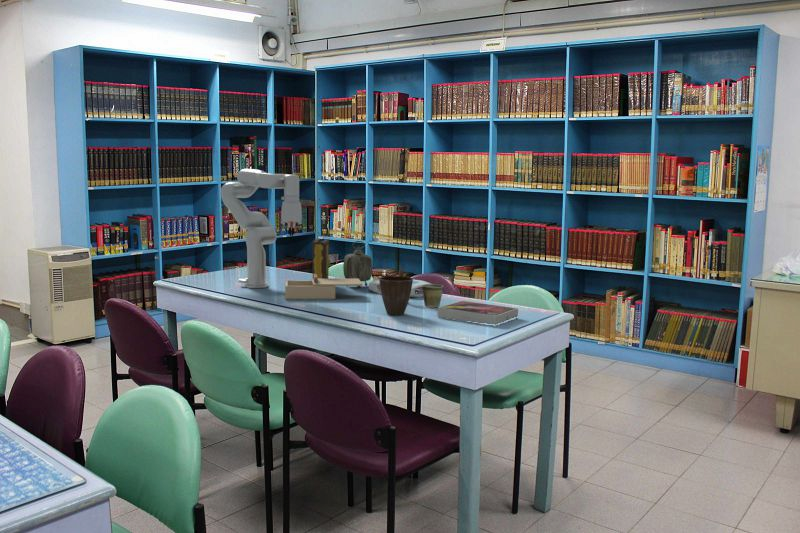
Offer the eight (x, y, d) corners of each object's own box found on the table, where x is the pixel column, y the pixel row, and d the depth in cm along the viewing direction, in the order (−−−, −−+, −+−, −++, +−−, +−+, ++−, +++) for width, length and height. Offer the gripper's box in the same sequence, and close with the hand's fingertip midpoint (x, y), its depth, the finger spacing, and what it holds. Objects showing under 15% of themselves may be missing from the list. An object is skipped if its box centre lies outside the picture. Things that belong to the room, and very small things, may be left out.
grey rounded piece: (368, 285, 391) (369, 240, 388) (373, 288, 383) (374, 241, 379) (342, 286, 387) (343, 240, 383) (347, 288, 378) (347, 242, 375)
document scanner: (410, 299, 354) (410, 286, 353) (367, 292, 371) (368, 280, 370) (434, 294, 370) (435, 282, 369) (392, 287, 387) (393, 276, 386)
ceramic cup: (439, 309, 328) (439, 288, 327) (418, 307, 332) (419, 286, 330) (447, 304, 340) (447, 284, 339) (427, 302, 344) (428, 282, 342)
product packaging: (495, 327, 294) (495, 316, 294) (437, 318, 310) (437, 307, 309) (517, 319, 312) (518, 308, 311) (461, 311, 328) (461, 300, 327)
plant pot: (371, 313, 314) (372, 277, 312) (394, 309, 325) (395, 274, 323) (396, 318, 304) (397, 282, 302) (418, 314, 315) (419, 278, 313)
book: (326, 290, 372) (326, 242, 369) (309, 289, 373) (310, 242, 369) (330, 283, 394) (331, 238, 391) (315, 283, 394) (316, 238, 391)
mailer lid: (313, 285, 343) (313, 278, 343) (311, 280, 361) (311, 273, 361) (362, 285, 347) (362, 278, 347) (358, 280, 365) (358, 273, 364)
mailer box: (285, 299, 342) (285, 286, 341) (285, 293, 360) (285, 280, 359) (335, 299, 346) (335, 286, 345) (332, 293, 364) (332, 280, 363)
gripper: (276, 199, 352) (276, 236, 354) (306, 199, 354) (306, 236, 357) (276, 198, 359) (276, 234, 362) (306, 199, 362) (306, 235, 364)
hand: (291, 235), depth 359 cm, fingers closed
